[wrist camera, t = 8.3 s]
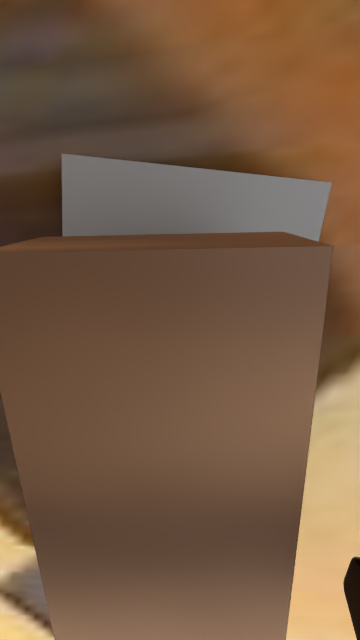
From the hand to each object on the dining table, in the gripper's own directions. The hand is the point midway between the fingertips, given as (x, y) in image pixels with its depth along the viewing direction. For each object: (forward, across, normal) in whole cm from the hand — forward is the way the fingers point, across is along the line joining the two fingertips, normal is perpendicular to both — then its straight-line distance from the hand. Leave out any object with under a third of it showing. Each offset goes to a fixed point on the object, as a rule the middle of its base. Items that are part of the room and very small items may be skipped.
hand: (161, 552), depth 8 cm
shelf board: (+3, 0, 0) cm, 3 cm away
